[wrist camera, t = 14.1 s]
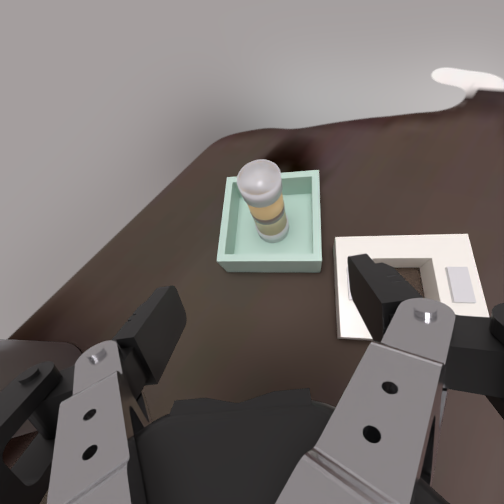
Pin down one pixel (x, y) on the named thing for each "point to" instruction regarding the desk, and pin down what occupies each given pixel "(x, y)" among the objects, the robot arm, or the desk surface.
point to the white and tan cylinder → (264, 199)
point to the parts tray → (281, 253)
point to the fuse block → (411, 256)
